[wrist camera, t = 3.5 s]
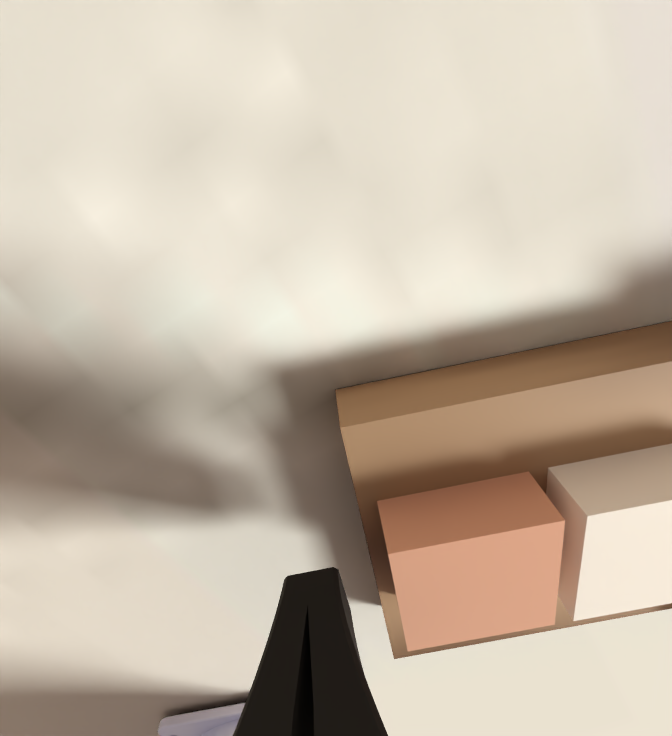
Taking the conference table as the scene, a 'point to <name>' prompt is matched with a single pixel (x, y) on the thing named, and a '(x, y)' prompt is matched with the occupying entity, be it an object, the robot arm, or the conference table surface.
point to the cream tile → (615, 531)
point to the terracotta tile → (473, 559)
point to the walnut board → (503, 431)
